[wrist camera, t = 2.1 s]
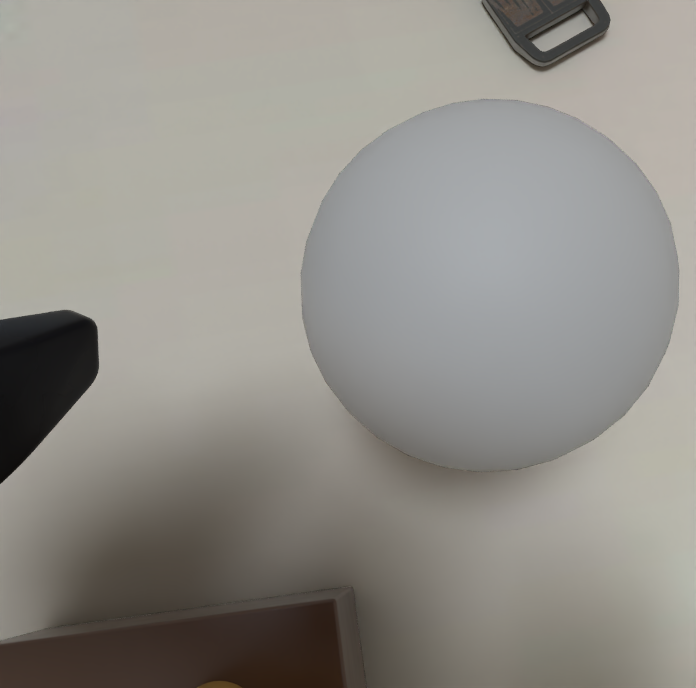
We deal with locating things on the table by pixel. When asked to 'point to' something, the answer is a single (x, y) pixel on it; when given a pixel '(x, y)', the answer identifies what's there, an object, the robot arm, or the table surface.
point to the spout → (219, 685)
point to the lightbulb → (490, 285)
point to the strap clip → (545, 24)
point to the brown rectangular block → (199, 647)
